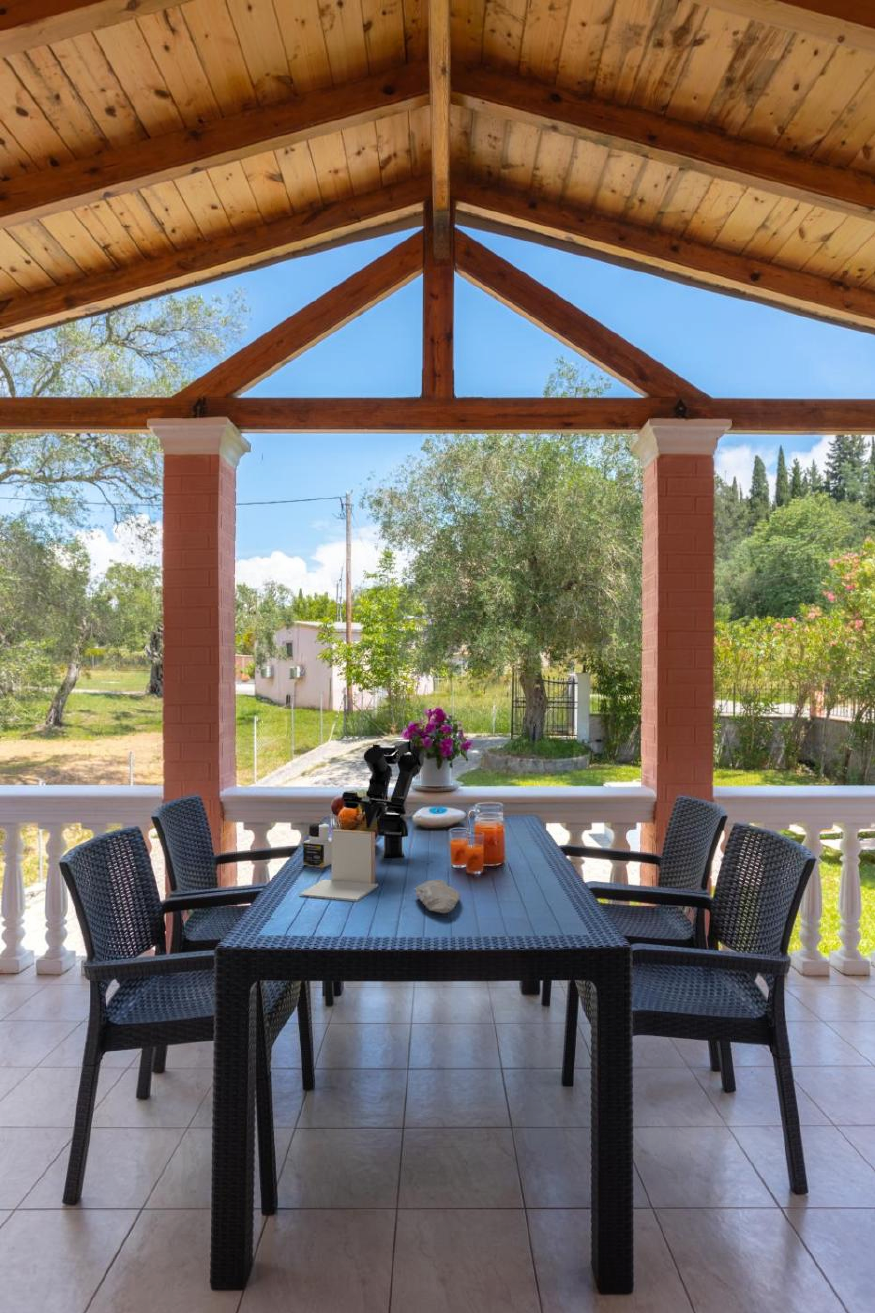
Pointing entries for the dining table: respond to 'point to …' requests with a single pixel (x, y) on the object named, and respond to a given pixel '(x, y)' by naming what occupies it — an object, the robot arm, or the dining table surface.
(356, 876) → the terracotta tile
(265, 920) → the dining table surface
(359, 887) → the cream square plate
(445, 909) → the stone tool
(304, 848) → the medicine bottle
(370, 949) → the dining table surface
